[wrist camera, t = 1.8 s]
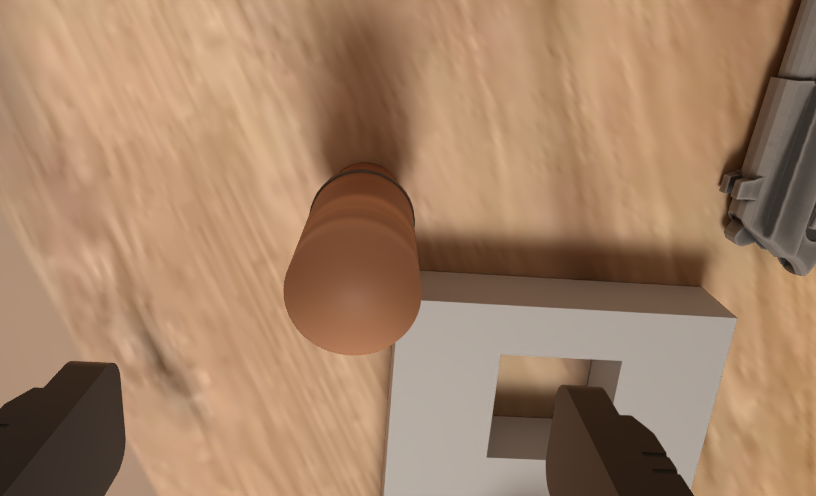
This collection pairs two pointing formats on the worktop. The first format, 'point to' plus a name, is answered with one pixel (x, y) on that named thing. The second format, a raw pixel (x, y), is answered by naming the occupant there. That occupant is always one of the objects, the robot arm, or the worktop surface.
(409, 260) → the cherry peg
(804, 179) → the handgun
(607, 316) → the jig board
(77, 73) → the worktop surface
